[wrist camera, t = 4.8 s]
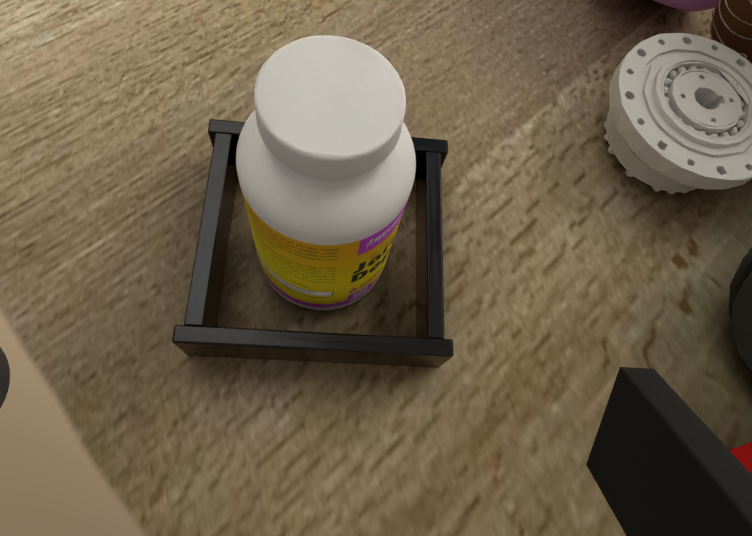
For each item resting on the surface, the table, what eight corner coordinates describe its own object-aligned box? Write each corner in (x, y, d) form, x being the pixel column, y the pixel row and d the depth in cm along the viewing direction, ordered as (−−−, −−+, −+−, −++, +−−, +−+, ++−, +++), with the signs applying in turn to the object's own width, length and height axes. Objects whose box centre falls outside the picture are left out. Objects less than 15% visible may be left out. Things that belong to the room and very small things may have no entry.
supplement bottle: (352, 335, 26) (384, 228, 14) (236, 280, 27) (172, 130, 15) (404, 229, 29) (467, 62, 17) (297, 179, 29) (284, -19, 17)
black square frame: (187, 356, 25) (171, 342, 22) (219, 151, 29) (209, 118, 26) (439, 368, 26) (453, 356, 23) (435, 169, 30) (447, 139, 28)
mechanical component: (639, 170, 26) (608, 20, 30) (594, 209, 31) (572, 73, 34) (814, 182, 28) (765, 36, 31) (748, 219, 32) (712, 86, 35)
